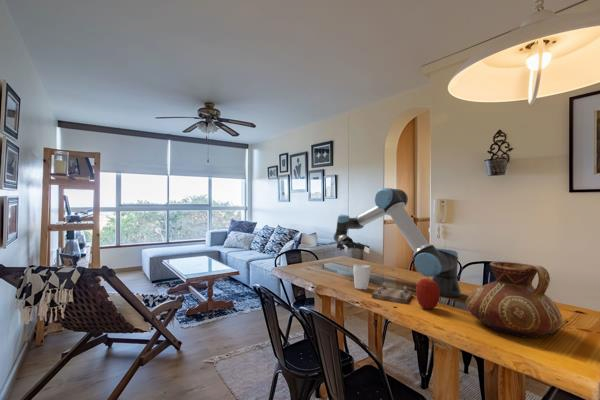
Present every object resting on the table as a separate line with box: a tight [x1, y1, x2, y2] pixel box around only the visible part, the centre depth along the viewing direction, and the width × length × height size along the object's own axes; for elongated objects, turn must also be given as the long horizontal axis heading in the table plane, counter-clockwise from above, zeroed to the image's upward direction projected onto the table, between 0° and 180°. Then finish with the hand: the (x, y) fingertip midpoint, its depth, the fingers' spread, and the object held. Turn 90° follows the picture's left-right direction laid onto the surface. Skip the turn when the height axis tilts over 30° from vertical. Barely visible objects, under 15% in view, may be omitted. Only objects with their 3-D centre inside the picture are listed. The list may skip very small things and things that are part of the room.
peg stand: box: [371, 283, 413, 305], centre depth 153 cm, size 16×16×4 cm
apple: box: [415, 278, 441, 310], centre depth 137 cm, size 10×10×14 cm
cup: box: [352, 263, 371, 290], centre depth 168 cm, size 9×9×12 cm
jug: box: [465, 261, 563, 338], centre depth 119 cm, size 30×30×25 cm
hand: (358, 250), depth 176 cm, fingers open, 13 cm apart
